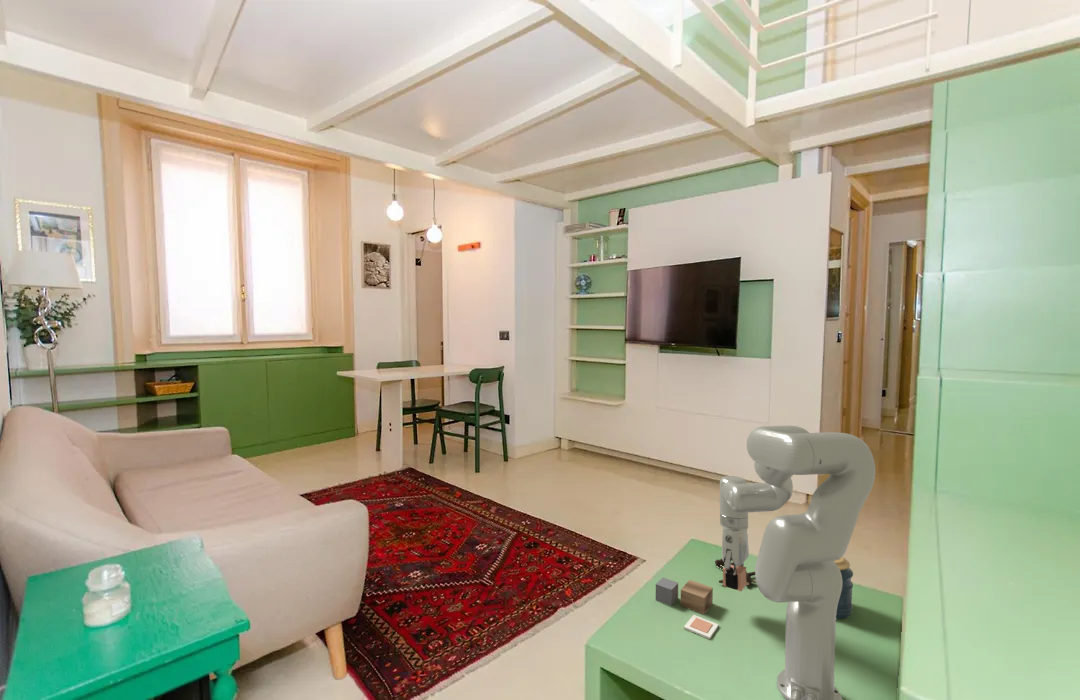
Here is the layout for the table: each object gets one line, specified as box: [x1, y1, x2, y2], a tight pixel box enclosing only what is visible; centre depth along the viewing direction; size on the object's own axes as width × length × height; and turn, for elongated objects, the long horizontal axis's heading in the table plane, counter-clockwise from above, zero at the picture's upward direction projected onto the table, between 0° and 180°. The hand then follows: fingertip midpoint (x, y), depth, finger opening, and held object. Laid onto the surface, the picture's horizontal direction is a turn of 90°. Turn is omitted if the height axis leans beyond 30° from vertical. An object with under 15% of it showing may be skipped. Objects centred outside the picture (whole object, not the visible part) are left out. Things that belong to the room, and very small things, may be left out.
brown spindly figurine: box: [714, 558, 757, 586], centre depth 154 cm, size 18×4×14 cm
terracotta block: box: [722, 565, 747, 592], centre depth 133 cm, size 5×5×5 cm
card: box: [683, 614, 720, 640], centre depth 127 cm, size 7×7×1 cm
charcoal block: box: [655, 577, 679, 607], centre depth 140 cm, size 5×5×5 cm
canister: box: [834, 556, 854, 620], centre depth 136 cm, size 13×13×18 cm
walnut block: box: [680, 579, 714, 615], centre depth 137 cm, size 7×7×5 cm
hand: (734, 583), depth 133 cm, fingers closed on terracotta block, 5 cm apart
